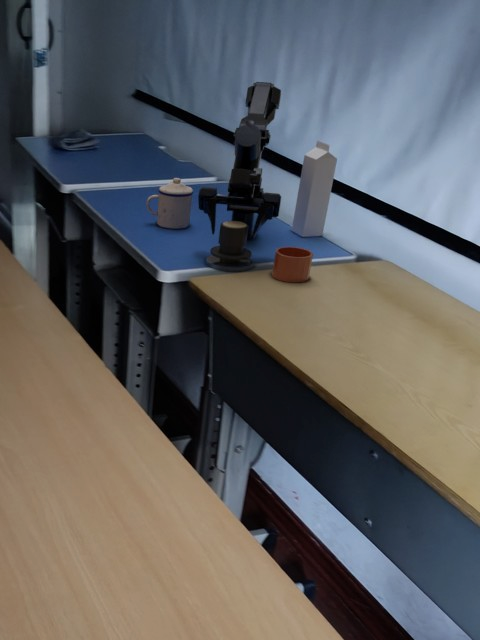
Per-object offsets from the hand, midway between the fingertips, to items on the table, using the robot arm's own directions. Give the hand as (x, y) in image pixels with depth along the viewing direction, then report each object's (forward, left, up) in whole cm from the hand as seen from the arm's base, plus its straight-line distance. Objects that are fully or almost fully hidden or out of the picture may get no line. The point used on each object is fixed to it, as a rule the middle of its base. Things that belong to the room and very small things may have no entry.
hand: (232, 235), depth 191 cm
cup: (0, +15, -7) cm, 16 cm away
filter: (-1, 0, -6) cm, 6 cm away
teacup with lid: (-23, -27, -7) cm, 36 cm away
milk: (-37, +7, -7) cm, 39 cm away
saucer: (-1, 0, -7) cm, 7 cm away
